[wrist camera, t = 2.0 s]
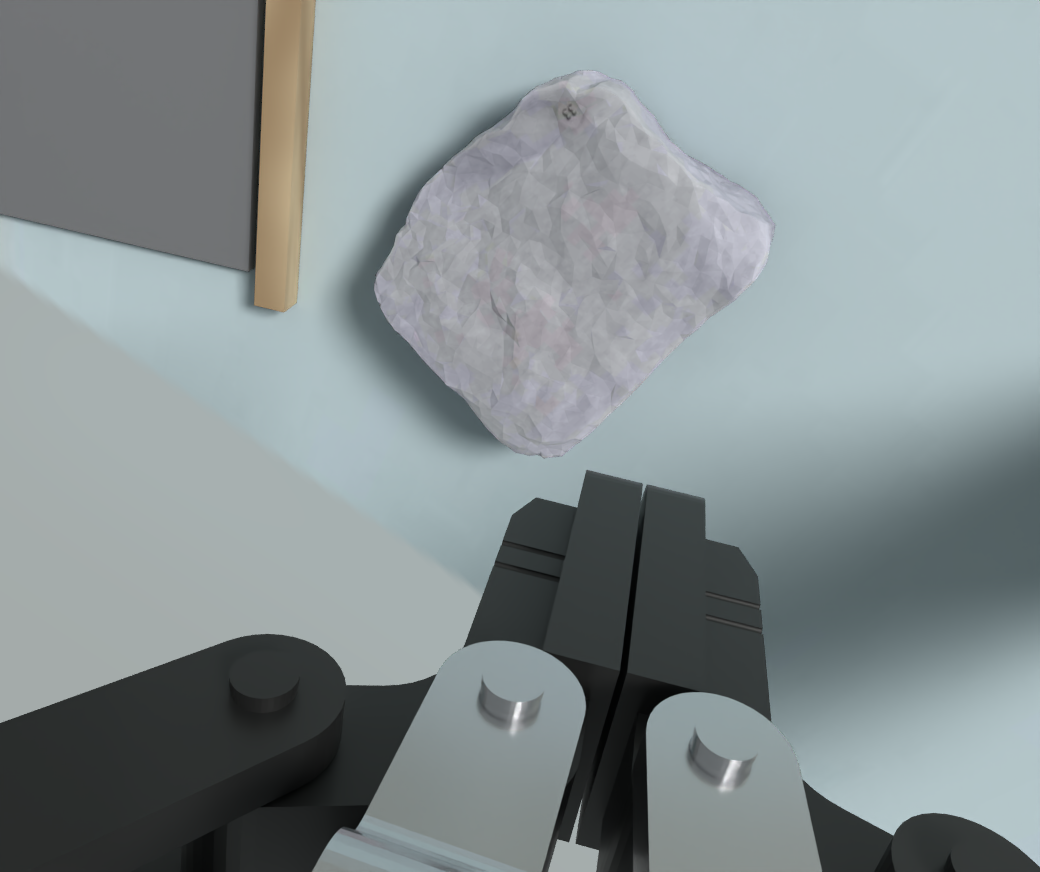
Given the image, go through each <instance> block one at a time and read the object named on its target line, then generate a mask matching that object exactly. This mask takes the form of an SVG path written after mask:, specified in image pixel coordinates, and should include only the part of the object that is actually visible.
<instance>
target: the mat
mask: <svg viewBox="0 0 1040 872" xmlns="http://www.w3.org/2000/svg"><path fill="white" fill-rule="evenodd" d="M263 24H264V0H0V214H4V215H8V216H12V217H16V218H21V219H25V220H29V221H34V222H38V223H42V224H46V225H51V226H55V227H59V228H64V229H68V230H72V231H76V232H81V233H85V234H89V235H94V236H98V237H102V238H106V239H111V240H115V241H119V242H124V243H128V244H132V245H136V246H141V247H145V248H149V249H154V250H158V251H162V252H166V253H171V254H175V255H179V256H183V257H188V258H192V259H196V260H201V261H205V262H209V263H213V264H218V265H222V266H226V267H231V268H235V269H239V270H243V271H248V272H249V271H250V270H252V269H254V259H255V233H256V207H257V181H258V155H259V128H260V102H261V76H262V50H263Z"/></svg>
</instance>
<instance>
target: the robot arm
mask: <svg viewBox="0 0 1040 872" xmlns="http://www.w3.org/2000/svg"><path fill="white" fill-rule="evenodd" d="M642 486H643V484H642V483H638V482H634V481H630V480H626V479H622V478H618V477H614V476H610V475H606V474H601V473H597V472H593V471H589V470H586V474H585V478H584V483H583V487H582V491H581V495H580V499H579V503H578V507H577V508H576V507H572V506H568V505H564V504H560V503H556V502H552V501H548V500H544V499H540V498H535V499H534V500H532V501H531V502H530V503H528V504H527V505H525V506H524V507H523V508H521V509H520V510H518V511H517V512H516V513H514V514H513V515H512V517H511V519H510V522H509V525H508V528H507V530H506V533H505V536H504V539H503V542H502V545H501V547H500V550H499V552H498V555H497V558H496V560H495V565H494V566H493V569H492V571H491V574H490V577H489V580H488V582H487V585H486V588H485V591H484V593H483V596H482V599H481V601H480V604H479V607H478V610H477V612H476V615H475V618H474V621H473V623H472V626H471V629H470V632H469V634H468V637H467V640H466V643H465V645H464V647H463V648H462V649H460V650H458V651H457V652H455V653H454V654H452V655H451V656H450V657H449V658H448V659H447V660H446V661H445V662H444V663H443V665H442V666H441V668H440V669H439V671H438V673H437V674H436V675H433V676H431V677H429V678H426V679H424V680H420V681H417V682H414V683H408V684H402V685H391V686H359V685H346V683H345V677H344V675H343V673H342V670H341V668H340V667H339V665H338V664H337V663H336V661H335V660H334V659H333V658H332V657H331V656H330V655H329V654H328V653H327V652H325V651H324V650H322V649H321V648H319V647H318V646H316V645H314V644H312V643H309V642H307V641H305V640H301V639H298V638H295V637H290V636H284V635H275V634H261V635H251V636H244V637H240V638H236V639H233V640H229V641H226V642H223V643H220V644H218V645H215V646H213V647H209V648H207V649H204V650H201V651H198V652H196V653H193V654H190V655H187V656H185V657H182V658H179V659H176V660H173V661H171V662H168V663H165V664H163V665H160V666H157V667H154V668H151V669H149V670H146V671H143V672H140V673H138V674H135V675H132V676H129V677H127V678H124V679H121V680H118V681H116V682H113V683H110V684H107V685H104V686H102V687H99V688H96V689H93V690H91V691H88V692H85V693H82V694H80V695H77V696H74V697H71V698H68V699H66V700H63V701H60V702H57V703H55V704H52V705H50V706H47V707H44V708H41V709H38V710H35V711H33V712H30V713H27V714H24V715H21V716H19V717H16V718H13V719H11V720H8V721H5V722H2V723H0V872H548V869H549V866H550V862H551V859H552V855H553V852H554V848H555V845H556V841H557V839H559V840H563V841H566V842H569V840H570V837H571V834H572V830H573V827H574V823H575V820H576V817H577V813H578V810H579V807H580V803H581V800H582V804H581V810H580V818H579V824H578V831H577V837H576V844H579V845H582V846H586V847H589V848H593V849H597V850H599V855H598V863H597V871H596V872H1040V867H1039V866H1038V865H1037V864H1036V863H1035V862H1034V861H1033V860H1032V859H1030V858H1029V857H1028V856H1027V855H1026V854H1025V853H1023V852H1022V851H1021V850H1020V849H1019V848H1018V847H1016V846H1015V845H1013V844H1012V843H1011V842H1009V841H1008V840H1006V839H1005V838H1003V837H1002V836H1000V835H998V834H997V833H995V832H993V831H992V830H990V829H988V828H986V827H984V826H982V825H979V824H977V823H975V822H972V821H970V820H967V819H964V818H961V817H957V816H952V815H948V814H938V813H930V814H921V815H917V816H914V817H911V818H910V819H908V820H906V821H905V822H903V823H902V824H901V825H900V827H899V828H898V829H897V830H896V832H895V834H894V836H893V835H891V834H889V833H887V832H885V831H884V830H882V829H880V828H878V827H876V826H874V825H872V824H870V823H869V822H867V821H865V820H863V819H861V818H859V817H857V816H855V815H854V814H852V813H850V812H848V811H846V810H844V809H842V808H841V807H839V806H837V805H836V804H834V803H832V802H830V801H829V800H827V799H826V798H824V797H823V796H822V795H820V794H819V793H818V792H816V791H815V790H814V789H813V788H811V787H810V786H809V785H808V784H807V783H806V782H805V781H803V780H802V776H801V772H800V767H799V763H798V760H797V757H796V754H795V752H794V750H793V748H792V747H791V745H790V743H789V742H788V740H787V739H786V738H785V736H784V735H783V734H782V733H781V731H780V730H779V729H778V728H777V727H776V726H775V725H774V724H773V723H771V713H770V703H769V692H768V681H767V670H766V660H765V649H764V638H763V634H761V633H762V629H763V628H762V617H761V610H759V608H760V595H759V585H758V576H757V574H756V573H755V571H754V570H753V568H752V567H751V565H750V564H749V562H748V561H747V559H746V558H745V556H744V555H743V554H742V552H741V551H740V549H739V548H738V547H735V546H731V545H727V544H723V543H719V542H715V541H711V540H706V539H705V499H704V498H701V497H697V496H692V495H688V494H684V493H680V492H676V491H672V490H668V489H664V488H660V487H656V486H651V485H647V486H646V488H645V491H644V494H643V497H642V500H641V495H642ZM640 503H641V504H640Z"/></svg>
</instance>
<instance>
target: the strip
mask: <svg viewBox="0 0 1040 872" xmlns="http://www.w3.org/2000/svg"><path fill="white" fill-rule="evenodd" d="M315 2H316V0H266V16H265V42H264V67H263V93H262V118H261V144H260V169H259V195H258V220H257V246H256V271H255V297H254V305H255V306H259V307H264V308H268V309H272V310H276V311H280V312H285V311H287V310H288V309H289V308H291V307H292V306H293V305H294V304H296V303H297V291H298V275H299V259H300V242H301V226H302V210H303V194H304V178H305V162H306V146H307V130H308V114H309V98H310V82H311V66H312V50H313V34H314V18H315Z"/></svg>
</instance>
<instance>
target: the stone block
mask: <svg viewBox="0 0 1040 872" xmlns="http://www.w3.org/2000/svg"><path fill="white" fill-rule="evenodd" d="M774 230H775V223H774V222H773V220H772V219H771V217H770V215H769V214H768V213H767V211H766V210H765V209H764V207H763V206H762V204H761V203H760V201H759V199H758V198H757V197H756V196H755V195H753V194H752V193H750V192H749V191H748V190H746V189H745V188H743V187H741V186H740V185H738V184H736V183H733V182H731V181H729V180H728V179H727V178H725V177H724V176H723V175H721V174H719V173H717V172H716V171H714V170H713V169H711V168H710V167H708V166H707V165H705V164H703V163H702V162H700V161H698V160H696V159H694V158H692V157H690V156H687V155H686V154H685V153H684V152H683V151H682V150H681V149H680V148H678V147H677V146H676V145H675V144H674V143H673V142H671V140H670V139H669V138H668V136H667V135H666V134H665V132H664V130H663V129H662V127H661V126H660V124H659V123H658V121H657V119H656V118H655V116H654V115H653V114H652V113H651V112H650V111H649V110H648V109H647V108H646V107H645V106H644V105H643V104H642V103H641V102H640V100H639V99H638V97H637V96H636V94H635V93H634V91H633V90H632V89H631V88H630V87H629V86H628V85H627V84H625V83H624V82H622V81H621V80H617V79H613V78H610V77H608V76H606V75H604V74H602V73H600V72H597V71H593V70H584V71H576V72H574V73H572V74H568V75H565V76H561V77H557V78H554V79H552V80H550V81H548V82H546V83H544V84H542V85H540V86H537V87H535V88H534V89H533V90H531V91H530V92H529V93H528V94H527V95H526V96H525V97H524V98H523V99H521V100H520V102H519V103H518V105H517V106H516V108H515V109H514V110H513V111H512V112H511V113H509V114H508V115H507V116H506V117H504V118H503V119H502V120H501V121H499V122H498V123H497V124H496V125H495V126H493V127H492V128H490V129H488V130H486V131H485V132H483V133H481V134H479V135H478V136H477V137H475V138H474V139H473V140H472V141H471V142H470V143H469V144H468V145H467V146H466V147H465V148H464V149H463V150H462V151H460V152H459V153H457V154H456V155H454V156H453V157H452V158H451V159H450V160H449V161H448V162H447V163H446V164H445V165H444V166H443V168H442V169H441V170H439V171H438V172H437V173H436V174H435V175H434V176H433V177H432V178H431V179H430V180H429V181H428V182H427V183H426V184H425V185H424V186H423V187H422V188H421V190H420V191H419V193H418V195H417V197H416V198H415V200H414V202H413V205H412V207H411V209H410V212H409V214H408V216H407V218H406V224H405V225H404V226H403V227H402V228H401V229H400V230H399V232H398V233H397V235H396V237H395V242H394V246H393V248H392V250H391V252H390V254H389V255H388V257H387V258H386V260H385V261H384V263H383V265H382V267H381V268H380V269H379V270H378V271H377V273H376V275H375V276H376V280H375V283H374V291H375V294H376V297H377V301H378V302H379V304H380V308H381V310H382V312H383V313H384V316H385V318H386V320H387V322H388V323H389V324H390V325H391V326H392V327H393V329H394V330H395V331H396V332H397V333H398V334H399V335H401V336H402V337H403V338H404V339H405V340H406V341H407V342H408V343H409V345H410V346H411V347H412V348H413V349H414V350H415V351H416V352H417V354H418V355H419V356H420V357H421V359H422V360H423V361H424V362H425V363H426V364H427V365H428V366H429V367H430V368H431V369H432V370H433V372H434V373H435V374H436V375H438V376H439V377H440V378H441V379H442V380H443V382H444V383H445V384H446V385H447V386H448V387H450V388H451V389H453V390H454V391H456V392H457V393H458V394H459V395H460V396H461V397H462V398H464V399H465V401H466V402H467V403H468V405H469V406H470V408H471V409H472V410H473V411H474V413H475V414H476V415H477V417H478V418H479V419H480V420H481V422H482V423H483V424H484V425H485V427H486V428H487V429H488V430H489V431H490V432H491V433H492V434H493V435H494V436H495V437H496V438H497V439H498V440H499V441H500V442H501V443H503V444H504V445H506V446H507V447H509V448H510V449H511V450H513V451H514V452H515V453H520V454H525V455H529V456H532V455H540V456H542V457H543V458H550V457H559V456H563V455H564V454H565V453H566V452H568V451H569V450H570V449H571V448H572V447H574V446H575V445H576V444H578V443H579V442H580V441H582V440H583V439H584V438H585V437H587V436H588V435H589V434H590V433H591V432H592V431H594V430H595V429H596V428H597V427H598V426H599V425H600V424H601V423H602V422H603V421H604V420H605V419H606V418H607V417H608V416H609V415H610V414H611V413H612V412H613V411H614V410H615V409H616V408H618V407H619V406H620V405H621V404H622V403H623V402H624V401H625V400H626V399H627V398H628V397H629V396H630V395H631V394H632V393H633V392H634V391H635V390H636V389H637V388H638V387H639V386H640V385H641V384H642V383H643V382H644V381H645V380H646V379H647V378H648V376H649V375H650V374H651V373H652V372H653V371H654V370H655V369H656V368H657V367H658V366H659V365H660V363H661V362H662V361H663V360H664V359H665V358H666V357H667V356H668V355H669V354H670V353H671V352H672V351H673V350H674V349H675V348H677V347H678V346H679V345H680V344H681V343H682V342H683V341H684V340H685V339H686V338H687V337H688V336H690V335H691V334H692V333H694V332H695V331H696V330H697V329H699V328H700V327H701V326H702V325H703V324H704V323H705V322H706V321H707V320H708V319H709V318H710V317H711V316H713V315H714V314H716V313H717V312H719V311H720V310H722V309H723V308H725V307H726V306H728V305H729V304H731V303H732V302H733V301H735V300H736V299H737V298H738V297H739V296H740V294H742V293H743V292H744V291H745V290H746V289H747V288H748V287H750V285H751V284H752V283H753V282H754V281H755V280H756V279H757V278H758V276H759V275H760V273H761V272H762V270H763V269H764V267H765V265H766V264H767V260H768V256H769V250H770V245H771V242H772V240H773V235H774Z"/></svg>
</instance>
